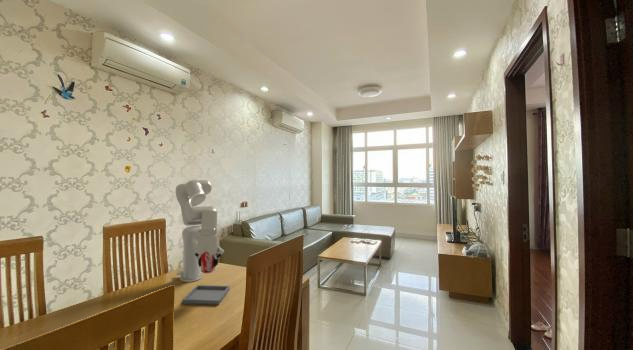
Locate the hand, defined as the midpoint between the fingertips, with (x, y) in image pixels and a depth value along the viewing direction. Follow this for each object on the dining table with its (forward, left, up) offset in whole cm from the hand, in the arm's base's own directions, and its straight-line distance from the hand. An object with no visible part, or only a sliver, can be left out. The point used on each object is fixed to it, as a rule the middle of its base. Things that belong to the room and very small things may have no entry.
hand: (208, 265), depth 132 cm
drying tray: (0, 0, -16) cm, 16 cm away
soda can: (0, 0, -3) cm, 3 cm away
